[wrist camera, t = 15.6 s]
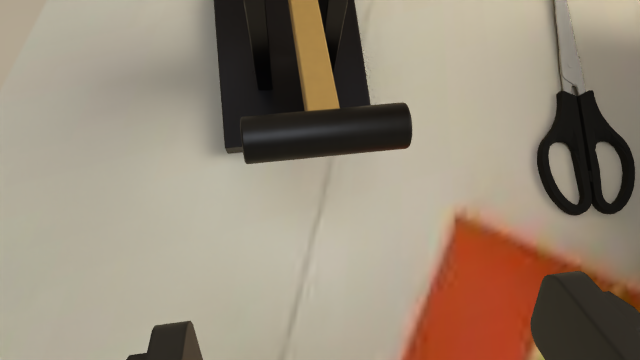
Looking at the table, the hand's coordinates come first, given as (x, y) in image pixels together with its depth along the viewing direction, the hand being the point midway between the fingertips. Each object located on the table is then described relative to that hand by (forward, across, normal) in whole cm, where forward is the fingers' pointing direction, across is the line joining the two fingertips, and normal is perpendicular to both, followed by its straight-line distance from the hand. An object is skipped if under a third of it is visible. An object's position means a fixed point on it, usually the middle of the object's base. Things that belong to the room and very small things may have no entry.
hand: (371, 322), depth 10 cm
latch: (+12, 0, -3) cm, 13 cm away
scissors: (+23, -20, +4) cm, 31 cm away
